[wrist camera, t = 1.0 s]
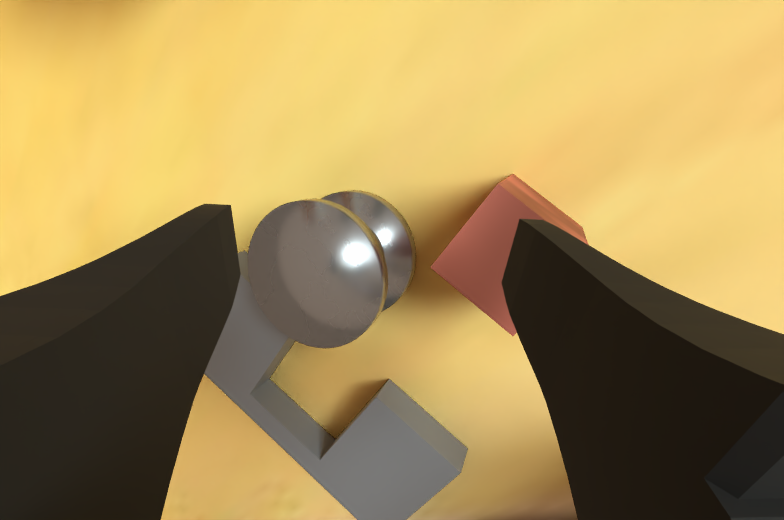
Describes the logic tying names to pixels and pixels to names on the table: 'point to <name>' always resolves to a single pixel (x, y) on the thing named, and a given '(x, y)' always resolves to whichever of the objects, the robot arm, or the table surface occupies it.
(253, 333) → the notched board
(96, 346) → the robot arm
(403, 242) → the bobbin
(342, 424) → the table surface
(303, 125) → the table surface
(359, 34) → the table surface
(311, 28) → the table surface
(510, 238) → the block
